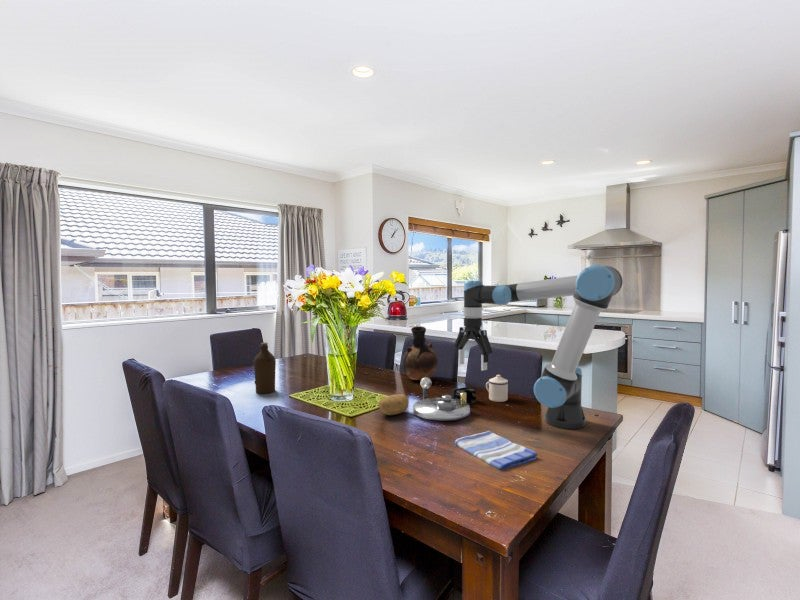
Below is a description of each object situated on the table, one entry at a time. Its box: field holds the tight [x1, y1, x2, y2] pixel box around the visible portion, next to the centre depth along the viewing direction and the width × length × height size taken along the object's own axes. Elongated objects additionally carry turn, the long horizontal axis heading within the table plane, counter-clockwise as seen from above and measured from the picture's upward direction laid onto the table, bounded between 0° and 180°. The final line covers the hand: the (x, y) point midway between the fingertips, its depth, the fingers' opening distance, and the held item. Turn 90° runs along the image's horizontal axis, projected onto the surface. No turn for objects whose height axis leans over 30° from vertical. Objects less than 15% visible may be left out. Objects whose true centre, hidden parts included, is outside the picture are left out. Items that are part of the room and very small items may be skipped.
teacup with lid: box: [485, 374, 509, 403], centre depth 201 cm, size 12×9×12 cm
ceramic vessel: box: [401, 325, 439, 381], centre depth 237 cm, size 21×18×30 cm
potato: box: [377, 393, 409, 416], centre depth 179 cm, size 10×14×8 cm
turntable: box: [412, 392, 471, 422], centre depth 179 cm, size 24×24×7 cm
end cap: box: [450, 385, 477, 405], centre depth 195 cm, size 10×7×7 cm
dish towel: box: [454, 430, 538, 471], centre depth 142 cm, size 17×24×3 cm
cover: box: [437, 394, 456, 411], centre depth 177 cm, size 8×8×5 cm
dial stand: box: [419, 377, 432, 400], centre depth 193 cm, size 4×5×12 cm
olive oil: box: [253, 342, 277, 395], centre depth 214 cm, size 11×11×25 cm
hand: (472, 367), depth 178 cm, fingers open, 13 cm apart
